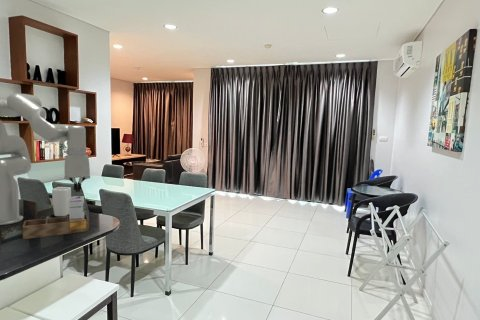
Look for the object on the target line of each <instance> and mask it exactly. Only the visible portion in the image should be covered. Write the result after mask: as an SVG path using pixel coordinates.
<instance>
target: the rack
mask: <svg viewBox="0 0 480 320" xmlns="http://www.w3.org/2000/svg"><path fill="white" fill-rule="evenodd" d="M89 219H90V218H89V216H88V214H85V219H84V220H75V221H70V220H69V215H67V216H64V217H57V216H56V217H48V218H39V219H28V220H24V221H23V224H22V240H28V239H36V238H45V237H52V236H60V235H67V234H68V235H69V234H77V233H83V232H84V233H85V232H89V231H90V223H89V222H90V220H89Z"/></svg>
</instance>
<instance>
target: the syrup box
mask: <svg viewBox="0 0 480 320" xmlns="http://www.w3.org/2000/svg"><path fill="white" fill-rule="evenodd" d="M85 215H86V214H85V196H83V195H77V196H75V195H74V196H71V198H70V199H69V214H68V216H69V220H70V221H75V220H84V219H85Z"/></svg>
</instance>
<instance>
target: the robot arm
mask: <svg viewBox="0 0 480 320" xmlns="http://www.w3.org/2000/svg"><path fill="white" fill-rule="evenodd" d="M46 116H47V111H46V109H45V108H44V107H42V100H40V98H39V97H37V96H36V95H34V94H28V93H19V92H17V93H12V94H9V95H8V96H7V97H6V98H1V97H0V117H22V118H24V119H25V120H26V121H28V122H29V125H30V128H31V130H32V131H33V132H34V133H35V134H36V135H37V136H39V137H41V138H42V139H44V140H46V141H49V142H59V141H60V142H61V141H62V142H63V141H64V142H65V141H66V142H67V143H66V145H67V147H66V149H63V153H64V154H67V155H65V156H64V157H65V158H64V177H63V179H64V180H66V181H70V182H71V183H72V184H73V190H74V191H75V193H80V192H81V190H82V183H83V182H84V181H85V180H89V179H91V175H90V173H91V172H90V171H91V170H90V168H91V167H90V159H89V155H88V154H87V140H86V139H87V137H86V136H87V134H86V133H87V132H86V131H87V130H86V127H85V126H84V125H71V124H64V123H63V124H61V123H59V124H58V123H57V124H56V123H50V122H49V121H48V120H46V119H45V118H46ZM7 155H10V156H7ZM0 156H4V157H0V226H5V225H12V224H15V223H16V224H17V223H19V222H21V221H22V220H23V219H24V216H23V215H20V202H19V201H20V200H19V185H18V182H17V180H16V179H15V176H20V175H25V174H27V173H29V172H30V171H31V170H32V162H31V158H30V157H31V156H30V154H29V150H28V146H27V144H26V141H25V140H24V139H23V137H21V136H19V135H16V134H15V135H14V134H13V135H9V134H8V132H7V128H6V126H5V124H4V122H3V121H2V119H0ZM6 156H7V157H6ZM76 178H78V181H77V180H76Z"/></svg>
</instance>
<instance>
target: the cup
mask: <svg viewBox="0 0 480 320" xmlns="http://www.w3.org/2000/svg"><path fill="white" fill-rule="evenodd" d="M51 192H52V193H51V195H52V197H51V199H52V208H53V209H52V210H53V214H54V216H55V217H56V218H57V217H67V216H69V199H70V198H71V197H72V187H71V186H70V187H69V186H57V187H54V188H52V189H51Z"/></svg>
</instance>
